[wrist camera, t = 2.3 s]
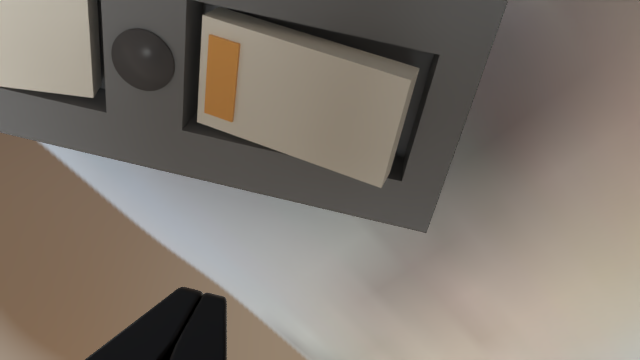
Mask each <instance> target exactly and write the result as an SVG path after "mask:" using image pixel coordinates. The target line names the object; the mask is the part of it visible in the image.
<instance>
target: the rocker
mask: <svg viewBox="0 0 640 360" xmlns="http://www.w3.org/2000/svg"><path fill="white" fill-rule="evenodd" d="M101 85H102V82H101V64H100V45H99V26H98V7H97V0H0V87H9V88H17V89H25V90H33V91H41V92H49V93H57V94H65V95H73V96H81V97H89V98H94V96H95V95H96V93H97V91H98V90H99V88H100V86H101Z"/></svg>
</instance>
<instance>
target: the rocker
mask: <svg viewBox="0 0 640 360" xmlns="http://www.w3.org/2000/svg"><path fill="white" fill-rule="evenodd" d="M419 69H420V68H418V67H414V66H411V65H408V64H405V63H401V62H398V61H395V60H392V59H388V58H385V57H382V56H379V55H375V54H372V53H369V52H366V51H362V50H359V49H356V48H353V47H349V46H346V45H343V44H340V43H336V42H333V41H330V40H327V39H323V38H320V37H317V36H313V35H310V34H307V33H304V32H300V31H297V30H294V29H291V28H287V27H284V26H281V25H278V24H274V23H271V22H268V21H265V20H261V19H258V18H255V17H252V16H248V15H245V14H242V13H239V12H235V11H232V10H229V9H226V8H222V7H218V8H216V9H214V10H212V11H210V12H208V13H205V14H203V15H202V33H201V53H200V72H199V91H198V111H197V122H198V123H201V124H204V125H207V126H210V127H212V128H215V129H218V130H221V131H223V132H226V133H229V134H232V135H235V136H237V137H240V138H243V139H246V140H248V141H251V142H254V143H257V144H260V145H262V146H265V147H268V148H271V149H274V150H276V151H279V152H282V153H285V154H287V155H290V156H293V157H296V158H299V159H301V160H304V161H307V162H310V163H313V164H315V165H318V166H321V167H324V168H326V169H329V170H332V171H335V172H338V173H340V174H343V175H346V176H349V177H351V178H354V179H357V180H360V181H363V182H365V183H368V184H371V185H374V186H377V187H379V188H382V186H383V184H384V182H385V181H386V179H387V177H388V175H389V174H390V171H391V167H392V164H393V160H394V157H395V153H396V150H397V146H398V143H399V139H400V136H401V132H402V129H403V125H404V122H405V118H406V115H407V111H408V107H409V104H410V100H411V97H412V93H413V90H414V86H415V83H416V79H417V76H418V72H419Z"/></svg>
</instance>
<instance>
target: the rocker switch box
mask: <svg viewBox="0 0 640 360" xmlns="http://www.w3.org/2000/svg"><path fill="white" fill-rule="evenodd" d="M506 5H507V0H97V7H98V26H99V45H100V64H101V82H102V85H101V86H100V88H99V90H98V91H97V93H96V95H95V96H94V98H89V97H81V96H73V95H65V94H57V93H49V92H41V91H33V90H25V89H17V88H9V87H0V132H1V133H5V134H9V135H14V136H18V137H22V138H26V139H31V140H35V141H39V142H43V143H47V144H52V145H56V146H60V147H64V148H68V149H73V150H77V151H81V152H85V153H90V154H94V155H98V156H102V157H107V158H111V159H115V160H119V161H124V162H128V163H132V164H136V165H140V166H145V167H149V168H153V169H157V170H162V171H166V172H170V173H174V174H179V175H183V176H187V177H191V178H196V179H200V180H204V181H208V182H213V183H217V184H221V185H225V186H229V187H234V188H238V189H242V190H246V191H251V192H255V193H259V194H263V195H268V196H272V197H276V198H280V199H285V200H289V201H293V202H297V203H301V204H306V205H310V206H314V207H318V208H323V209H327V210H331V211H335V212H340V213H344V214H348V215H352V216H357V217H361V218H365V219H369V220H374V221H378V222H382V223H386V224H390V225H395V226H399V227H403V228H407V229H412V230H416V231H420V232H424V233H426V232H427V230H428V227H429V224H430V221H431V218H432V215H433V213H434V210H435V207H436V204H437V201H438V198H439V195H440V193H441V190H442V187H443V184H444V181H445V178H446V176H447V173H448V170H449V167H450V164H451V161H452V158H453V156H454V153H455V150H456V147H457V144H458V141H459V139H460V136H461V133H462V130H463V127H464V124H465V122H466V119H467V116H468V113H469V110H470V107H471V104H472V102H473V99H474V96H475V93H476V90H477V87H478V85H479V82H480V79H481V76H482V73H483V70H484V67H485V65H486V62H487V59H488V56H489V53H490V50H491V48H492V45H493V42H494V39H495V36H496V33H497V31H498V28H499V25H500V22H501V19H502V16H503V13H504V11H505V8H506ZM218 7H222V8H226V9H229V10H232V11H235V12H239V13H242V14H245V15H248V16H252V17H255V18H258V19H261V20H265V21H268V22H271V23H274V24H278V25H281V26H284V27H287V28H291V29H294V30H297V31H300V32H304V33H307V34H310V35H313V36H317V37H320V38H323V39H327V40H330V41H333V42H336V43H340V44H343V45H346V46H349V47H353V48H356V49H359V50H362V51H366V52H369V53H372V54H375V55H379V56H382V57H385V58H388V59H392V60H395V61H398V62H401V63H405V64H408V65H411V66H414V67H418V68H420V69H419V72H418V76H417V79H416V83H415V86H414V90H413V93H412V97H411V100H410V104H409V107H408V111H407V115H406V118H405V122H404V125H403V129H402V132H401V136H400V139H399V143H398V146H397V150H396V153H395V157H394V160H393V164H392V167H391V171H390V174H389V175H388V177H387V179H386V181H385V182H384V184H383V186H382V188H379V187H377V186H374V185H371V184H368V183H365V182H363V181H360V180H357V179H354V178H351V177H349V176H346V175H343V174H340V173H338V172H335V171H332V170H329V169H326V168H324V167H321V166H318V165H315V164H313V163H310V162H307V161H304V160H301V159H299V158H296V157H293V156H290V155H287V154H285V153H282V152H279V151H276V150H274V149H271V148H268V147H265V146H262V145H260V144H257V143H254V142H251V141H248V140H246V139H243V138H240V137H237V136H235V135H232V134H229V133H226V132H223V131H221V130H218V129H215V128H212V127H210V126H207V125H204V124H201V123H198V122H197V111H198V91H199V72H200V53H201V33H202V15H203V14H205V13H208V12H210V11H212V10H214V9H216V8H218Z"/></svg>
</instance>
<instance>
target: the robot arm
mask: <svg viewBox="0 0 640 360" xmlns="http://www.w3.org/2000/svg"><path fill="white" fill-rule="evenodd" d="M226 305H227V304H226V298H225V297H223V296H219V295H214V294H211V293H205V294H203V293H202V292H201V291H198V290H194V289H190V288H186V287H181V288H178V289H177V290H175V291H174V292H173V293H172V294H170V295H169V296H168V297H166V298H165V299H164V300H162V301H161V302H160V303H158V304H157V305H156V306H155V307H153V308H152V309H151V310H149V311H148V312H147V313H145V314H144V315H143V316H141V317H140V318H139V319H138V320H136V321H135V322H134V323H132V324H131V325H130V326H128V327H127V328H126V329H124V330H123V331H122V332H121V333H119V334H118V335H117V336H115V337H114V338H113V339H112V340H110V341H109V342H107V343H106V344H105V345H103V346H102V347H101V348H100V349H98V350H97V351H96V352H94V353H93V354H92V355H90V356H89V357H88V358H86V359H85V360H227V342H226V341H227V334H226V333H227V329H226V327H227V324H226V323H227V322H226V321H227V316H226V315H227V314H226V313H227V311H226V309H227V308H226V307H227V306H226Z"/></svg>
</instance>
